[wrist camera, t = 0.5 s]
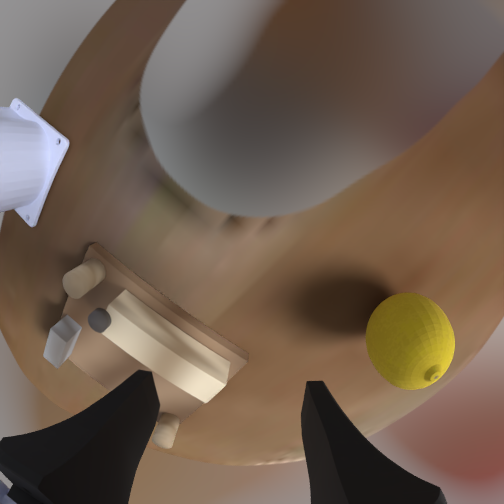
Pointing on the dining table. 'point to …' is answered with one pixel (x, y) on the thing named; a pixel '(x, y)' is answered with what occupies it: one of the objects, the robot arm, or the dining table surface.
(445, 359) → the lemon
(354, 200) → the dining table surface
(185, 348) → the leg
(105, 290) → the board
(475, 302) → the dining table surface
